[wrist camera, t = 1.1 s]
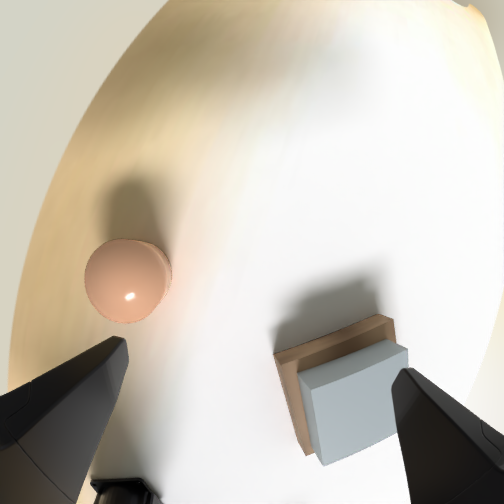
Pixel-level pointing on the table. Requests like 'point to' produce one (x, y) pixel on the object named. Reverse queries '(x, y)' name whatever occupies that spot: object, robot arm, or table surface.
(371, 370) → the grey top slab
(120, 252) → the peach domed cylinder
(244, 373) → the table surface
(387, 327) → the walnut base slab
